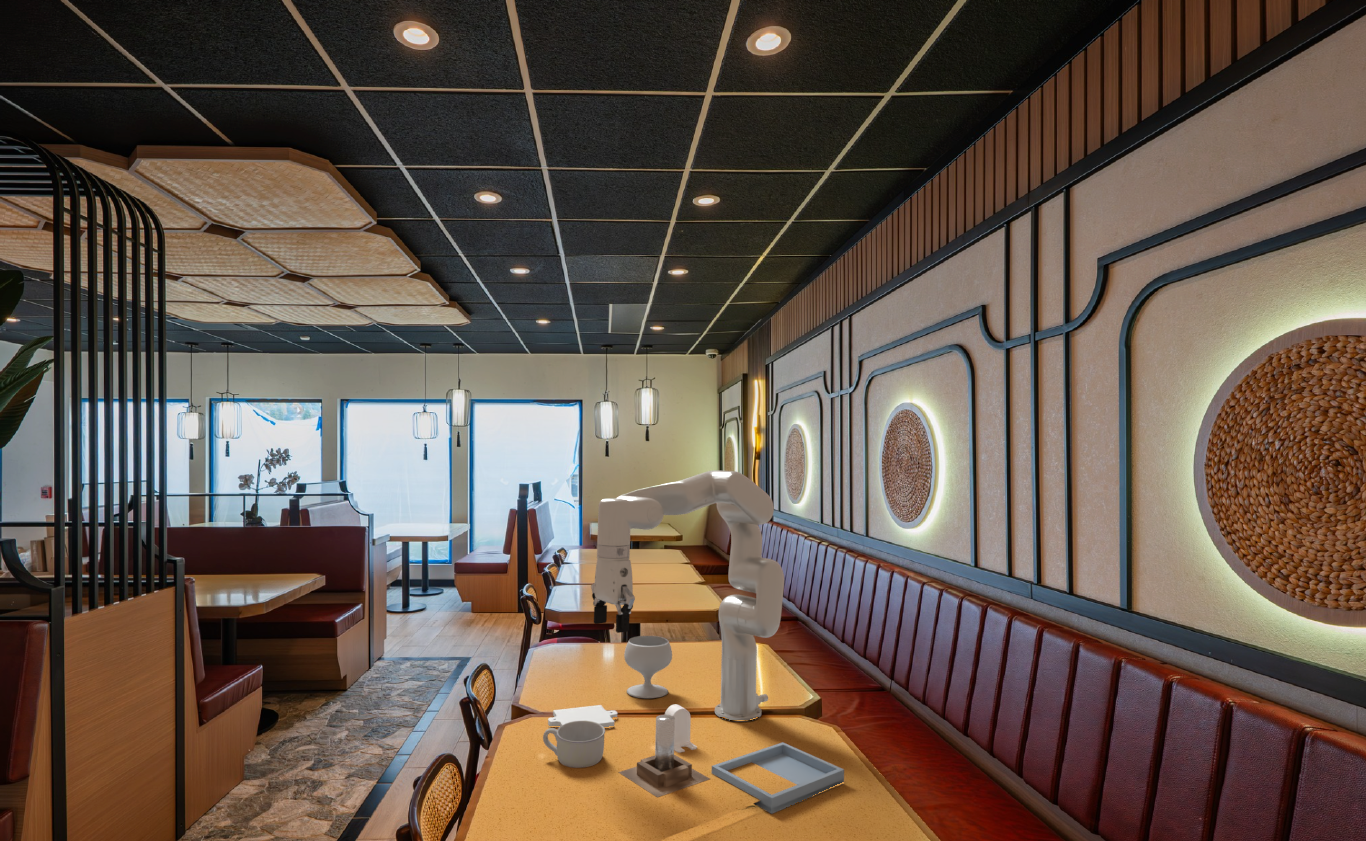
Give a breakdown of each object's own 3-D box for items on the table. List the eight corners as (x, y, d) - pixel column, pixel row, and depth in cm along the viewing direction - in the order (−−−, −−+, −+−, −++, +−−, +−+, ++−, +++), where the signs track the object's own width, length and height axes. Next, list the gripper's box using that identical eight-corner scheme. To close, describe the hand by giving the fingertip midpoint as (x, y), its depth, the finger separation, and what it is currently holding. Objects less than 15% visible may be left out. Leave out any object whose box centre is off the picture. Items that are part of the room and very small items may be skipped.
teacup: (612, 760, 165) (612, 724, 165) (590, 780, 155) (591, 741, 155) (557, 750, 170) (558, 715, 170) (533, 769, 159) (534, 732, 160)
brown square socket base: (669, 763, 164) (670, 745, 164) (710, 786, 153) (710, 766, 153) (618, 779, 155) (618, 760, 156) (657, 805, 144) (657, 784, 145)
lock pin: (665, 769, 157) (667, 713, 158) (677, 776, 154) (678, 718, 155) (650, 774, 155) (652, 717, 155) (662, 781, 152) (663, 723, 152)
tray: (782, 755, 170) (782, 742, 170) (843, 783, 156) (844, 769, 156) (711, 780, 156) (711, 765, 156) (771, 813, 142) (771, 798, 142)
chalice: (670, 701, 205) (671, 647, 205) (621, 700, 205) (622, 646, 206) (672, 685, 219) (673, 635, 219) (625, 684, 219) (626, 634, 220)
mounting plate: (553, 737, 179) (553, 729, 179) (543, 718, 191) (543, 711, 191) (623, 728, 185) (623, 720, 185) (609, 711, 197) (609, 703, 197)
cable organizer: (676, 740, 177) (677, 698, 178) (697, 755, 169) (698, 711, 169) (657, 744, 175) (658, 702, 175) (678, 759, 166) (679, 715, 167)
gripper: (647, 556, 163) (645, 633, 162) (607, 547, 177) (605, 618, 176) (619, 558, 158) (617, 637, 157) (580, 548, 172) (578, 621, 171)
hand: (611, 627), depth 167 cm, fingers open, 9 cm apart
